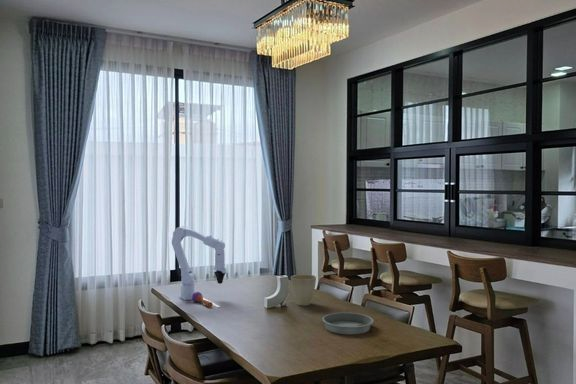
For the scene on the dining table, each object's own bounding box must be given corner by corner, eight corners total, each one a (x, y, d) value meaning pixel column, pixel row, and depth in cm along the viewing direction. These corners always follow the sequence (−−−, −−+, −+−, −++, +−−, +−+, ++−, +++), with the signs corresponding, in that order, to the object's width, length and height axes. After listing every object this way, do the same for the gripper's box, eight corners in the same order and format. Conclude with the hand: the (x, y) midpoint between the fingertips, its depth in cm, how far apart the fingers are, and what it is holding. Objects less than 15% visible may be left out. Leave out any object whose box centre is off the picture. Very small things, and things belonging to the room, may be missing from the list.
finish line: (200, 298, 296) (200, 298, 296) (203, 298, 297) (203, 297, 297) (217, 307, 274) (217, 307, 274) (221, 306, 275) (221, 306, 275)
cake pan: (333, 338, 220) (333, 328, 220) (315, 323, 244) (315, 314, 244) (382, 333, 227) (382, 323, 226) (360, 319, 250) (360, 310, 250)
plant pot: (310, 300, 291) (310, 273, 291) (320, 306, 277) (320, 278, 277) (287, 302, 286) (287, 275, 286) (295, 308, 272) (295, 279, 272)
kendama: (204, 301, 272) (189, 292, 289) (205, 311, 273) (191, 301, 290) (213, 298, 276) (199, 289, 292) (215, 308, 277) (200, 298, 293)
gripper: (230, 262, 291) (231, 284, 291) (220, 258, 304) (221, 280, 304) (220, 263, 288) (220, 285, 288) (210, 259, 300) (210, 281, 300)
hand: (219, 283), depth 296 cm, fingers closed
